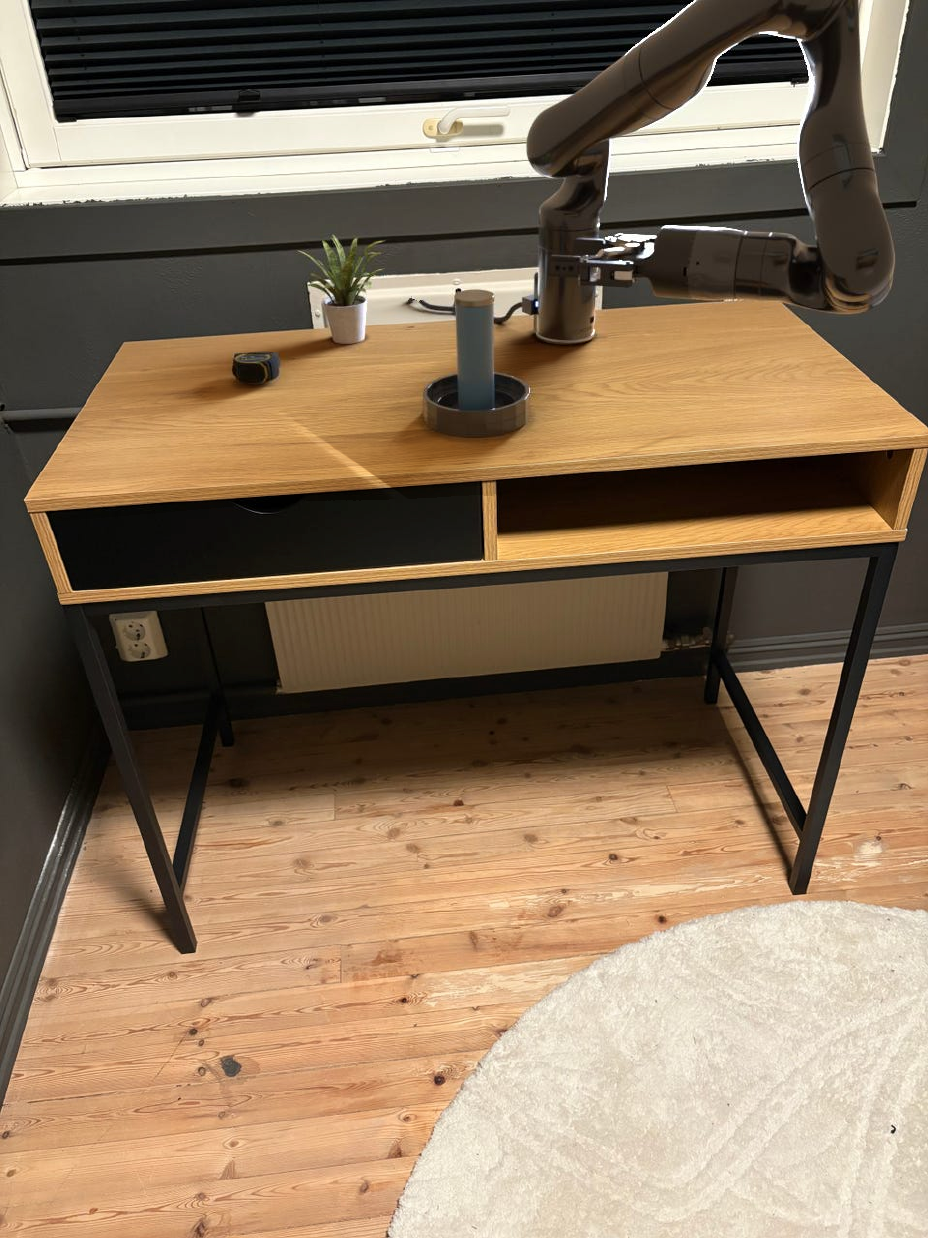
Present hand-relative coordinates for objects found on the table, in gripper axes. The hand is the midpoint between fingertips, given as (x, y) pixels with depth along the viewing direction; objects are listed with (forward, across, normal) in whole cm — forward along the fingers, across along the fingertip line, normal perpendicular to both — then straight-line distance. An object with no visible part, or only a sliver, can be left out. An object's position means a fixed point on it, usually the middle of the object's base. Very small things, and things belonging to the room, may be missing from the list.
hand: (561, 256), depth 110 cm
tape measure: (+49, -2, +21) cm, 53 cm away
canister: (+12, 0, +21) cm, 24 cm away
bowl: (+12, 0, +22) cm, 25 cm away
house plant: (+44, -23, +20) cm, 54 cm away
